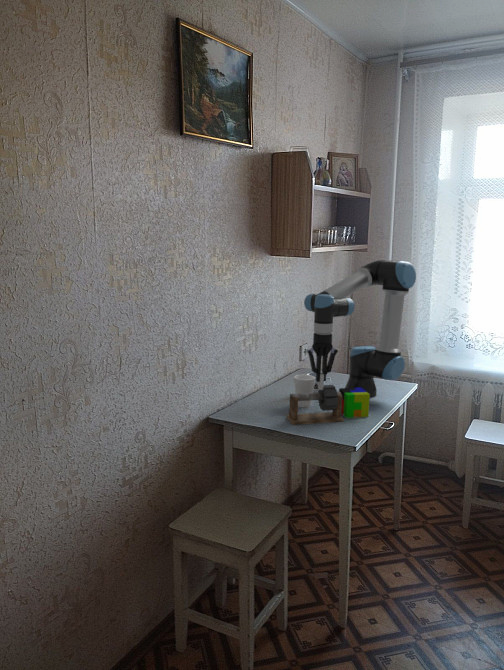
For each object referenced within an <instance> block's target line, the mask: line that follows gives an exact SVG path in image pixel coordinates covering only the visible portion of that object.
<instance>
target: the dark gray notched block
mask: <svg viewBox="0 0 504 670" xmlns="http://www.w3.org/2000/svg"><path fill="white" fill-rule="evenodd" d="M337 392H338V391H337V388H336V386H335V385H334V384H325V385H324V387H323V390H319V389H318V391H317V393H323V396H324V400H317V401H318V406H319V407H320V410H321V411H323V412H324V411H333V410H335V409H336V408H337V405H338V398H337V396H338V395H337Z"/></svg>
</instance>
